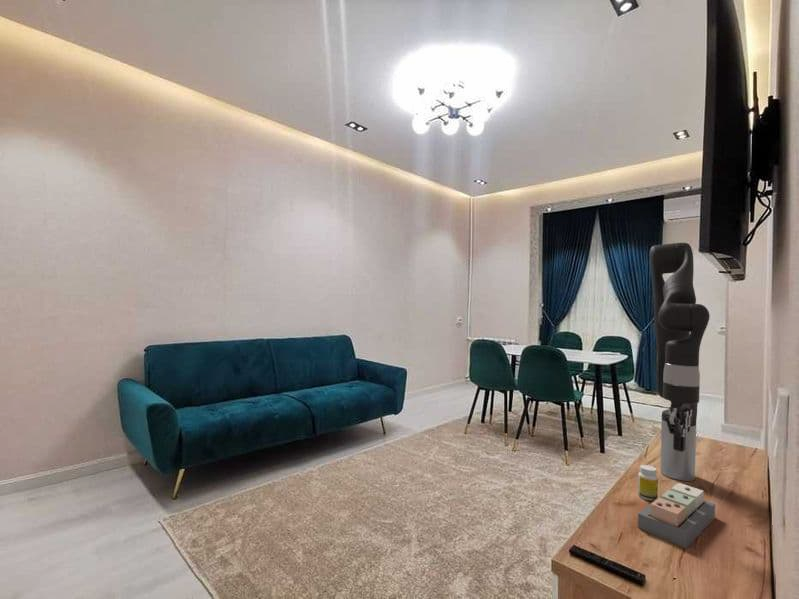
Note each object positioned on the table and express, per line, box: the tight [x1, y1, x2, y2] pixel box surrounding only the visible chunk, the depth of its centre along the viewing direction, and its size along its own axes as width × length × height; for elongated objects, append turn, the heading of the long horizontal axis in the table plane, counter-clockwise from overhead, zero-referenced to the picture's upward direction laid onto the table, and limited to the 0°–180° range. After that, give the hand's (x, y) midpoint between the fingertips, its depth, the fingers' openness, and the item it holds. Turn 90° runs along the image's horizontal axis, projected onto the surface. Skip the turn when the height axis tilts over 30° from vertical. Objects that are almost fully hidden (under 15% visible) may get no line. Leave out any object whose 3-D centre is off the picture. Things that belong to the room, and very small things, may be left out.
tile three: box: [650, 496, 686, 527], centre depth 96 cm, size 6×6×3 cm
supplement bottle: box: [637, 464, 659, 502], centre depth 113 cm, size 5×5×8 cm
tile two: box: [660, 489, 695, 517], centre depth 100 cm, size 6×6×3 cm
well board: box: [637, 488, 716, 549], centre depth 100 cm, size 22×10×4 cm, turn 128°
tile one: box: [670, 482, 705, 509], centre depth 104 cm, size 6×6×3 cm
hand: (679, 450), depth 100 cm, fingers closed
